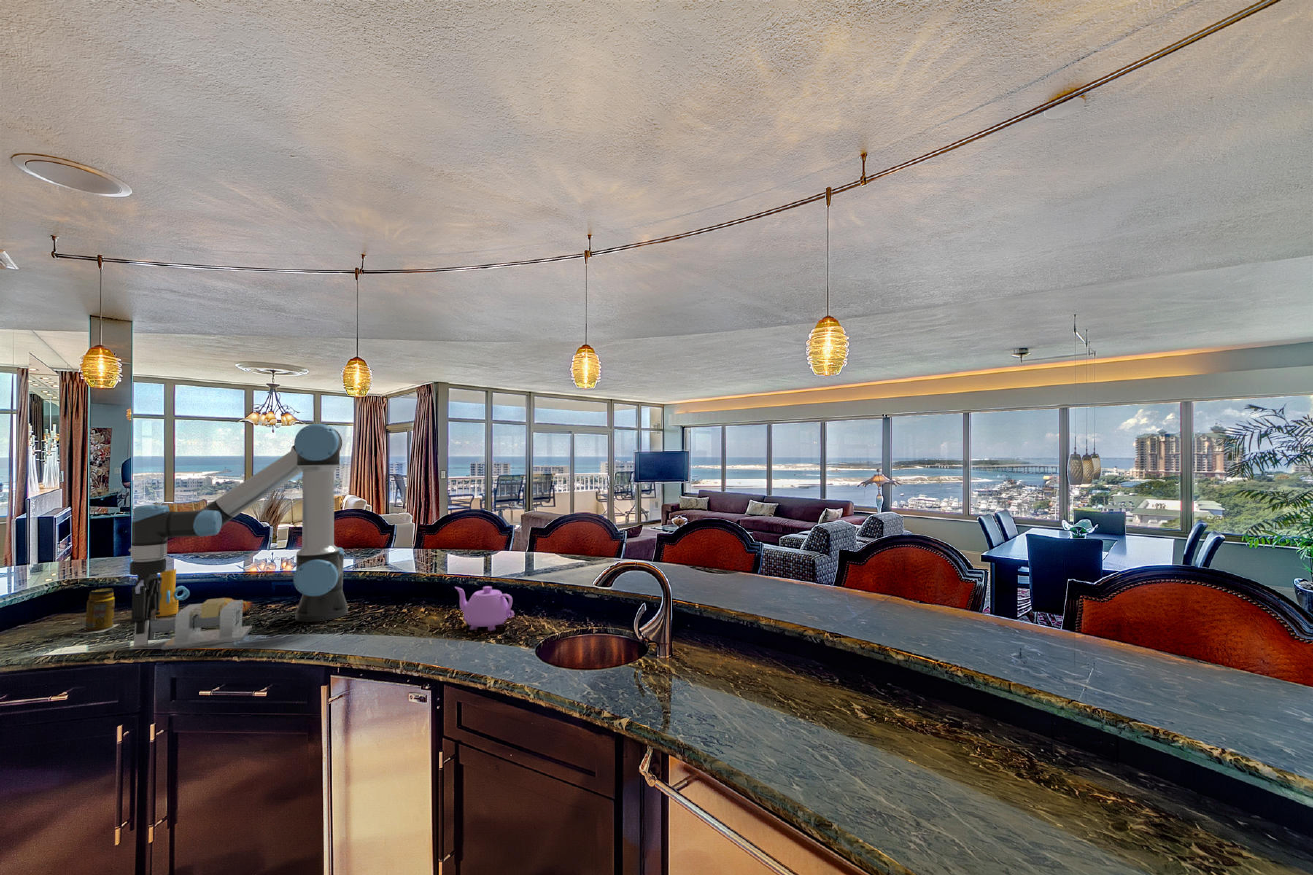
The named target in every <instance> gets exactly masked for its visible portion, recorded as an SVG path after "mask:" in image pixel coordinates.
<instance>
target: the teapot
mask: <svg viewBox="0 0 1313 875" xmlns="http://www.w3.org/2000/svg"><path fill="white" fill-rule="evenodd" d="M454 588H455V590H457V592H458V594H459V608H460V610H461V611H462V613H463V620H464V621H465V622H466V624H468V626H470V627H469V630H470V631H474V630H478V628H479V627H480V628H481V627H482V628H483V627H484V628H485V627H487V631H489V632H490V631H491V632H493V631H496V629H497V628H496V626H500V625H504V623H505V622H506V620H507V619H508V618H509V619H511V618H513V617H514V616H515V612H514V610H512V609H511V608H512V605H513V597H512V595H510V594H508V593H502V591H501V590H499V589H493V586H491V585H490V586H489V585H487V586H486V585H485V586H483V587H482V589H481V590H477V591H475V592H474V593H473V594H472V595H471V596H470V598H469V600H468V601H467V599H466V594H465V591H464V589H463V588H461V587H459V586H454ZM506 598H507V599H508V601H507V599H506Z"/></svg>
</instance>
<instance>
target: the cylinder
mask: <svg viewBox="0 0 1313 875" xmlns="http://www.w3.org/2000/svg"><path fill="white" fill-rule="evenodd" d="M159 575H160V576H159V577H162V581H161V590H160V606H159V611H157V612H160V615H155V616H156V617H168V616H173V615H176V614H177V613H178V612H179V601H185V600H186V599H188V598H189V596H190V590H189V589H188V588H186V587H185V586H183V585H180V586H177V587H176V581H177V569H176V568H170V569H169V568H166V570H165V571H164V572H162V573H159ZM180 591H183V592H182V594H181V595H179V596H178V593H179V592H180Z"/></svg>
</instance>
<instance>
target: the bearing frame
mask: <svg viewBox="0 0 1313 875" xmlns="http://www.w3.org/2000/svg"><path fill="white" fill-rule="evenodd" d="M235 600H236V601H230V602H229V603H228V604H227V605H226V606H224V607H223V608H222V609H221V610H220V625H219V628H218V629H209V630H202V627H199V628H193V617H194V616H195V615H201V605H202V604H203V603H195V604H194V603H193V604H188V605H186V607H184V608H183V609H181V610H179V611H178V613H176V614H175V617H176V620H175V630H174V636H173V637H171V639H169V640H168V641H167V642H165V643H164V644H163V645H162V646H161V651H163V650H174V649H181V648H189V647H197V646H198V647H200V646H209V645H215V644H224V643H231V642H242V641H243V640H244V639H245V638H246V637H247V636H248V634H249V633H250V632H251V631H252V629H253V626H252V625H246V626H243V613H242V610H243V601H244V600H243V599H238V600H237V599H235ZM237 611H239V621H238V622H237V623H236V612H237Z"/></svg>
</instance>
